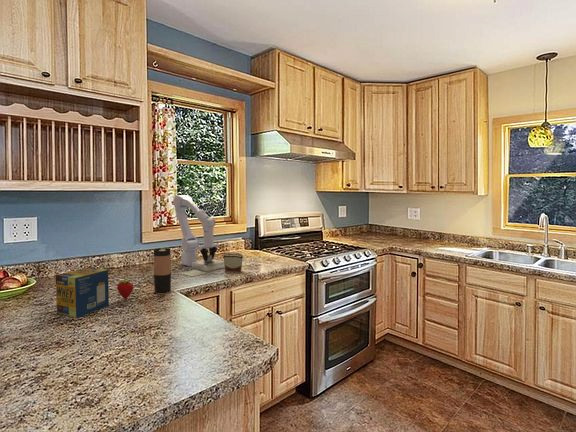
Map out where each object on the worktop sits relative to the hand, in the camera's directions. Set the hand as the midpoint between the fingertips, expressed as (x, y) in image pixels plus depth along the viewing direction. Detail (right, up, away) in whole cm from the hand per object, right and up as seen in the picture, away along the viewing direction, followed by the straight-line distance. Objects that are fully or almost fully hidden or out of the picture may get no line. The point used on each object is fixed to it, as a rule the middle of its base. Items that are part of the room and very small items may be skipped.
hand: (208, 260), depth 215 cm
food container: (+17, -6, -6) cm, 19 cm away
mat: (-5, -6, -14) cm, 16 cm away
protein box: (-33, -11, -74) cm, 81 cm away
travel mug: (-11, -9, -48) cm, 50 cm away
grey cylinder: (0, -5, 0) cm, 5 cm away
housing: (0, -5, 0) cm, 5 cm away
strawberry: (-23, -10, -60) cm, 65 cm away
